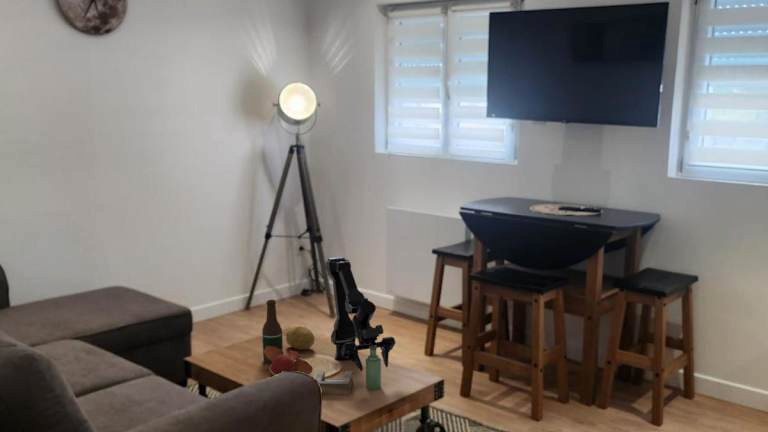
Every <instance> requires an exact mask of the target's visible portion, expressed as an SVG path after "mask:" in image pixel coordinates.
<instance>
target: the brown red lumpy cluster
mask: <svg viewBox="0 0 768 432" xmlns="http://www.w3.org/2000/svg"><path fill="white" fill-rule="evenodd" d="M265 355H266V357H267V358H268V359H269V360H271V361H272V364H270V366H269V370H270V371H271V372H272V373H273V374H274V375H275V376H276V374H279V373H281V372H282V371H300V372H304V373H306V374H310V375H311V374H312V373H313V370H314V368H313V366H312V365H311V364H310V363H308V361H306V360H303V359H301V354H300V353H298V351H295V350H292V349H290V350H289V351H288V354H287V355H286V354H284V351H282V350H281V349H280V348H278V347H276V346H269V345H268V346H266V348H265Z"/></svg>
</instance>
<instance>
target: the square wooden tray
mask: <svg viewBox="0 0 768 432" xmlns="http://www.w3.org/2000/svg"><path fill="white" fill-rule="evenodd" d="M325 372H326V371H325V370H318V371H317V373H316V376H315V378H314V380H315V379H316V380H317V381H318V383H319V384H320V387H321V389H322V395H323V396H324V395H326V396H328V395H329V396H330V395H331V396H349V395H350V392H351V388H352V384H353V370H345V372H344V376H343V378H326V373H325ZM322 395H321V396H322Z"/></svg>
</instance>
